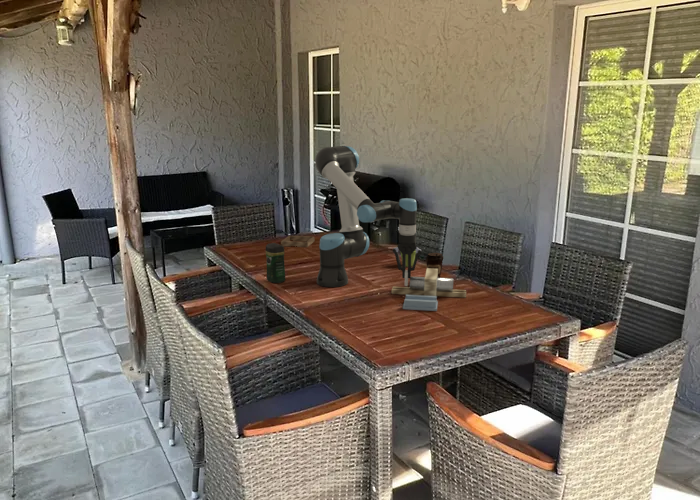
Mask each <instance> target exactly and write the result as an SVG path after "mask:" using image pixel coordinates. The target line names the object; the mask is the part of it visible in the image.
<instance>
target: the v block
mask: <svg viewBox="0 0 700 500" xmlns="http://www.w3.org/2000/svg"><path fill="white" fill-rule="evenodd" d="M437 298H438V296H426V295H407V294H405V298H404V302H403V305H402V310H412V311H413V310H415V311H431V312H432V311H433V312H438V306H439V300H437Z"/></svg>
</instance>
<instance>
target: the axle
mask: <svg viewBox="0 0 700 500" xmlns="http://www.w3.org/2000/svg"><path fill="white" fill-rule="evenodd" d="M424 281H425V276H411V277H410V278H409V287H410V290H424ZM453 290H454V278H452V277H450V278H449V277H440V278H437V285H436V291H446V292H453Z"/></svg>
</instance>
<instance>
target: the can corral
mask: <svg viewBox="0 0 700 500" xmlns="http://www.w3.org/2000/svg"><path fill="white" fill-rule="evenodd" d="M290 240H293V241H290ZM313 243H315V236H309V235H308V236H305V235H288V236H287V237H285V238H284V239H282V240H280V245H282V246H284V247H291V246H295V247H296V246H297V247H296V248H300V247H301V248H309V247H310V246H311V245H312V244H313Z"/></svg>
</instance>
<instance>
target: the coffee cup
mask: <svg viewBox="0 0 700 500" xmlns="http://www.w3.org/2000/svg"><path fill="white" fill-rule="evenodd" d="M425 259H426V269H427V268H434V269H438V278H441V275H442V270H443V260H444V255H443V253H440V252H430V253H427V256H426V257H425Z"/></svg>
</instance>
